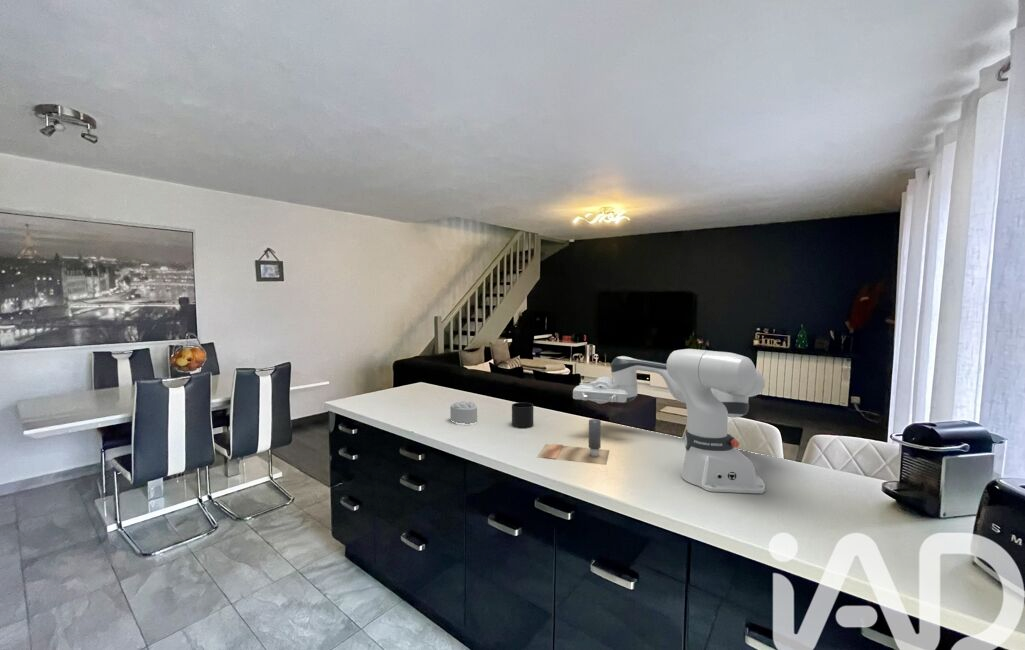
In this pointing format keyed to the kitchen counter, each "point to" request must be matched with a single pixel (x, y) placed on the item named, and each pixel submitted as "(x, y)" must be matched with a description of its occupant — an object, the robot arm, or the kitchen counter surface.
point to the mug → (522, 415)
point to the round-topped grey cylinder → (594, 437)
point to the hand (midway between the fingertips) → (597, 399)
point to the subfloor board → (572, 454)
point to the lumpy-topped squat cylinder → (464, 412)
